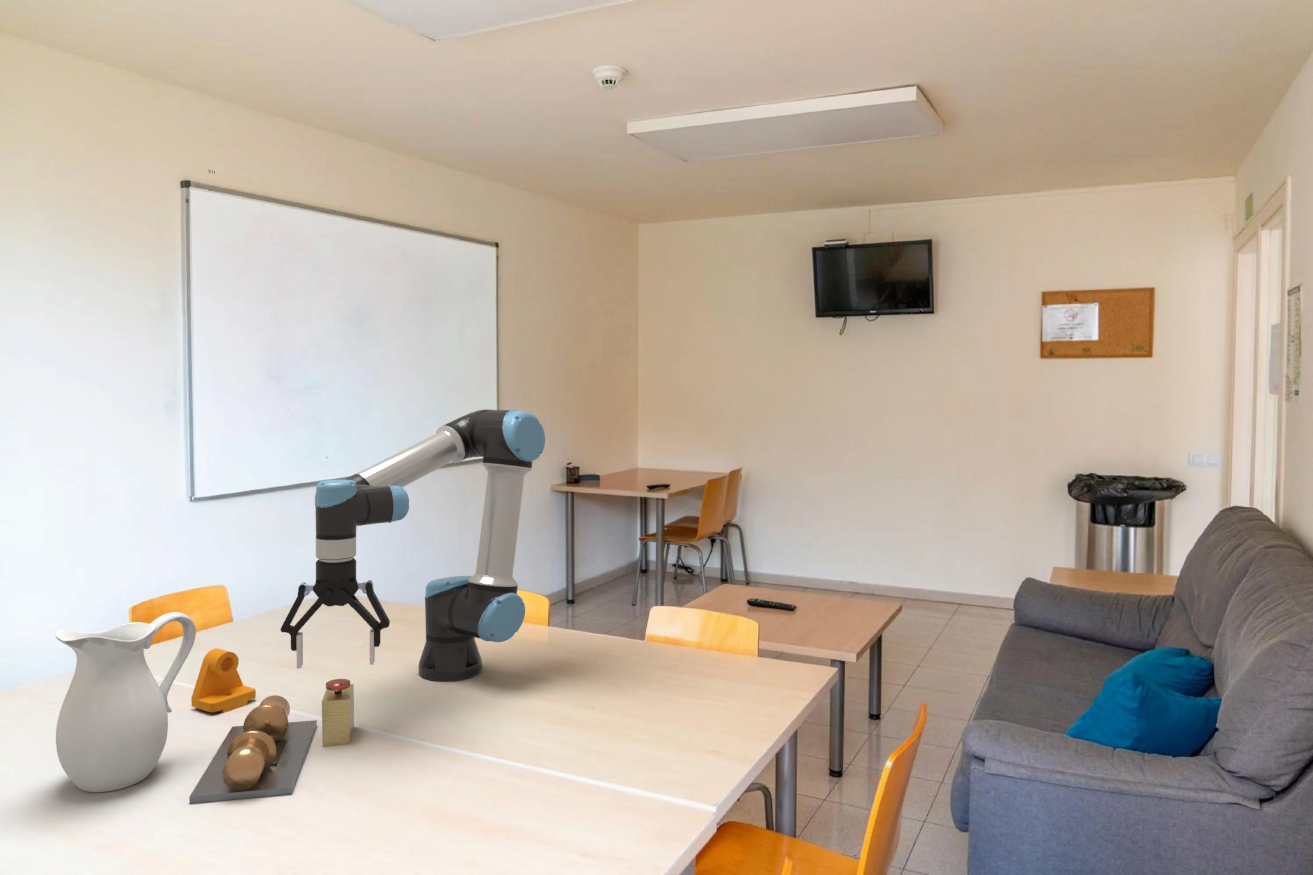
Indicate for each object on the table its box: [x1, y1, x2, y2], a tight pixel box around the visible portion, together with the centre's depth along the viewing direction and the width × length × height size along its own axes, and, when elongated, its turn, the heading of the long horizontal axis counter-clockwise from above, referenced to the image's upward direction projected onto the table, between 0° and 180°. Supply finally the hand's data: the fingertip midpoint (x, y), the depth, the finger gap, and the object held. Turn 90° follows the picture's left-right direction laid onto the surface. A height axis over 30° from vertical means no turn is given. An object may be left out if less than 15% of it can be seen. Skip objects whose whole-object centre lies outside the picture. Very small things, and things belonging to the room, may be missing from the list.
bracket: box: [191, 648, 257, 714], centre depth 193 cm, size 11×7×12 cm, turn 149°
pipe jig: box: [188, 694, 318, 804], centre depth 166 cm, size 31×16×8 cm, turn 13°
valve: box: [321, 678, 355, 747], centre depth 177 cm, size 5×9×11 cm, turn 13°
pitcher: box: [55, 611, 197, 793], centre depth 160 cm, size 24×17×28 cm
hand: (336, 664), depth 176 cm, fingers open, 13 cm apart
